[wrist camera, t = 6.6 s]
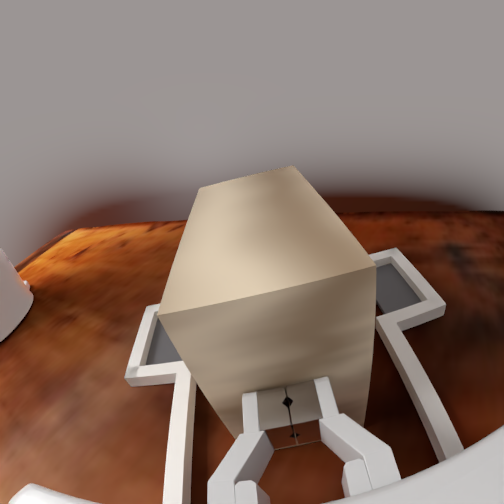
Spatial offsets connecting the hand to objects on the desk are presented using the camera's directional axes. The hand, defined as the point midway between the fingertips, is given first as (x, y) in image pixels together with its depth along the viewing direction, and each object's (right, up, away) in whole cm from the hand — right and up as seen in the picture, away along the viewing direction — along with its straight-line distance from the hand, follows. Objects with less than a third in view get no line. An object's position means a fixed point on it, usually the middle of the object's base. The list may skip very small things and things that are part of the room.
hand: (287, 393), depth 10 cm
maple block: (+1, -2, +8) cm, 8 cm away
